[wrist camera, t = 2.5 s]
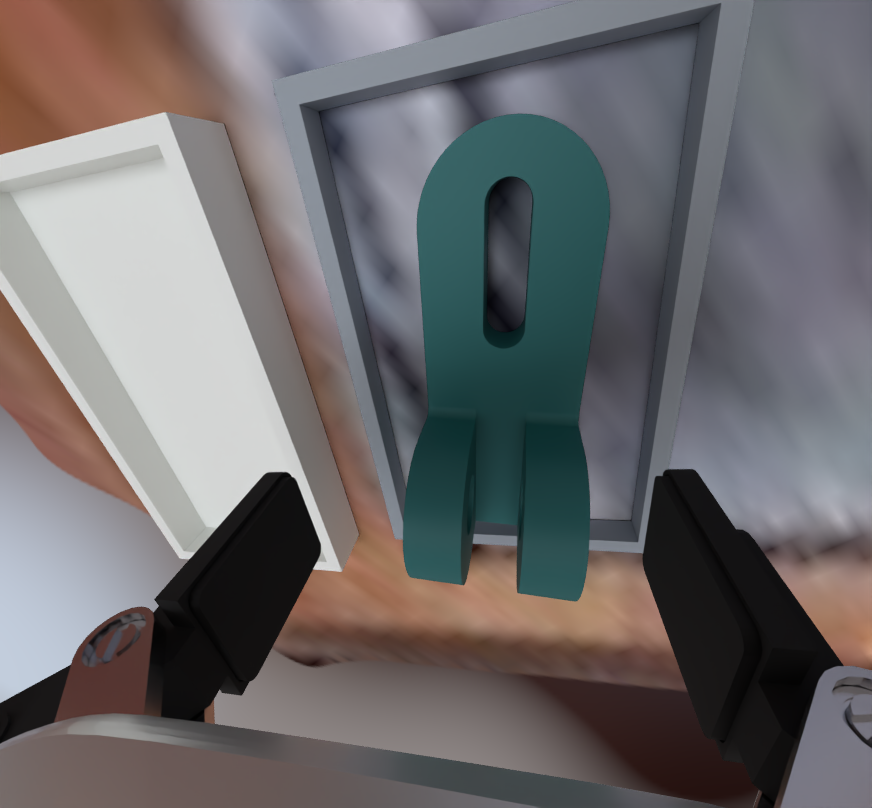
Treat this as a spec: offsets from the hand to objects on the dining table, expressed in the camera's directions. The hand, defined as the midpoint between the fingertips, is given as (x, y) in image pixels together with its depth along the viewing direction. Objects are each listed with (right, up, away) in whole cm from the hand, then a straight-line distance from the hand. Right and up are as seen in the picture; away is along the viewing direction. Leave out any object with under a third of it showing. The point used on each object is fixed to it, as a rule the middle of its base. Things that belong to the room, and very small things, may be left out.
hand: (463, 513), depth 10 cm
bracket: (+3, +5, +8) cm, 10 cm away
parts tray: (-14, +4, +13) cm, 19 cm away
